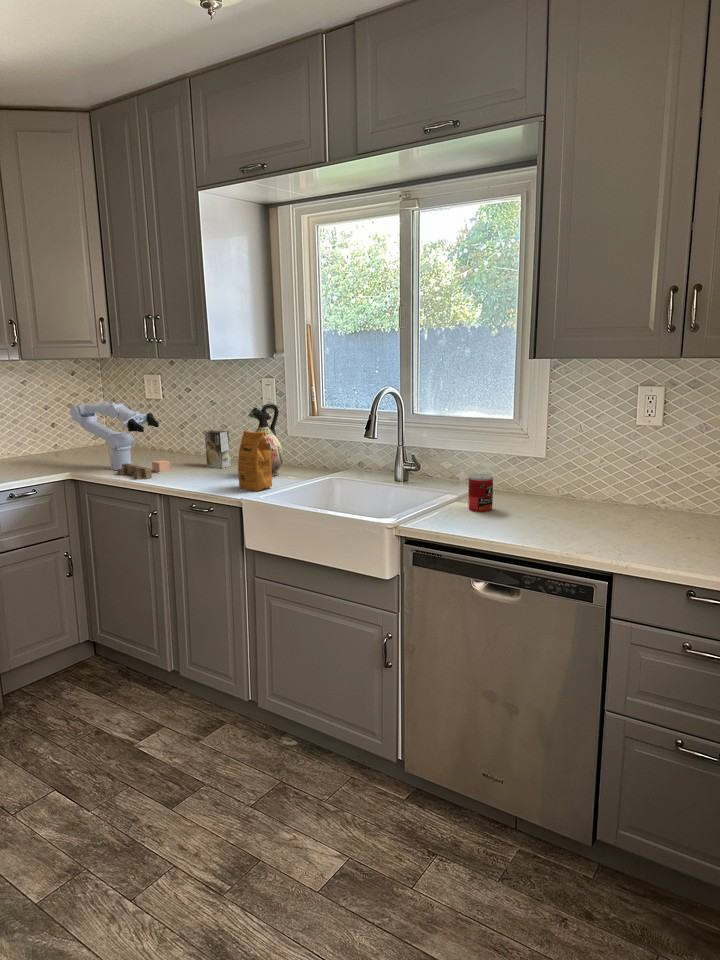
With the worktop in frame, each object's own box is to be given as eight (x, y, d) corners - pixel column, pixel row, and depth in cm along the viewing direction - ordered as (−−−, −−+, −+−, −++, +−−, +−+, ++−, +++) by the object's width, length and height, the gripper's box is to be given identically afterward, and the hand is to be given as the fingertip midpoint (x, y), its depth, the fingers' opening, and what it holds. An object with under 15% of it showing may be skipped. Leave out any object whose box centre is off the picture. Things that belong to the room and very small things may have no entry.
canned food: (480, 513, 218) (481, 479, 216) (463, 508, 224) (463, 475, 222) (497, 509, 222) (498, 476, 220) (479, 505, 229) (480, 472, 226)
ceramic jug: (251, 480, 276) (247, 405, 269) (243, 473, 290) (239, 402, 284) (292, 476, 282) (289, 403, 276) (282, 470, 296) (279, 400, 290)
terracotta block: (152, 471, 299) (151, 461, 298) (162, 470, 303) (162, 460, 302) (160, 473, 295) (159, 463, 294) (170, 471, 299) (169, 461, 298)
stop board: (115, 474, 294) (115, 465, 293) (127, 472, 298) (126, 463, 297) (139, 480, 281) (139, 470, 280) (151, 478, 285) (150, 468, 284)
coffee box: (231, 466, 308) (229, 430, 305) (222, 468, 302) (220, 432, 299) (215, 464, 312) (213, 429, 309) (206, 467, 307) (203, 431, 303)
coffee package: (254, 484, 269) (252, 428, 265) (276, 488, 261) (273, 430, 257) (234, 488, 262) (231, 431, 257) (256, 492, 254) (253, 433, 249)
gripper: (115, 412, 290) (136, 423, 283) (143, 404, 300) (164, 414, 294) (116, 427, 293) (136, 438, 287) (144, 419, 304) (164, 429, 297)
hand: (150, 427), depth 290 cm, fingers open, 7 cm apart
